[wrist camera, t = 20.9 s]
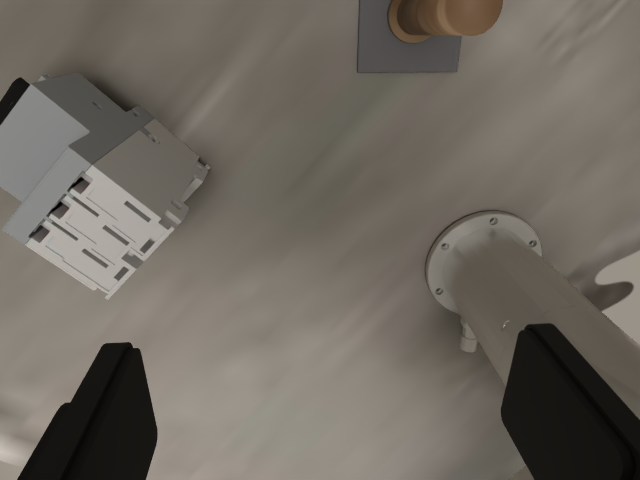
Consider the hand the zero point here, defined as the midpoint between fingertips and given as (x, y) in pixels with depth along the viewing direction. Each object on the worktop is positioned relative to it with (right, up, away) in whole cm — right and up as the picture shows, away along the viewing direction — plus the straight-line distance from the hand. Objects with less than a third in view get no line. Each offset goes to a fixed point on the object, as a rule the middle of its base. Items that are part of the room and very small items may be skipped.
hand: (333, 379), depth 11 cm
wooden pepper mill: (+8, +23, +27) cm, 36 cm away
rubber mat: (+7, +23, +28) cm, 37 cm away
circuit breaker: (-18, +12, +31) cm, 38 cm away
